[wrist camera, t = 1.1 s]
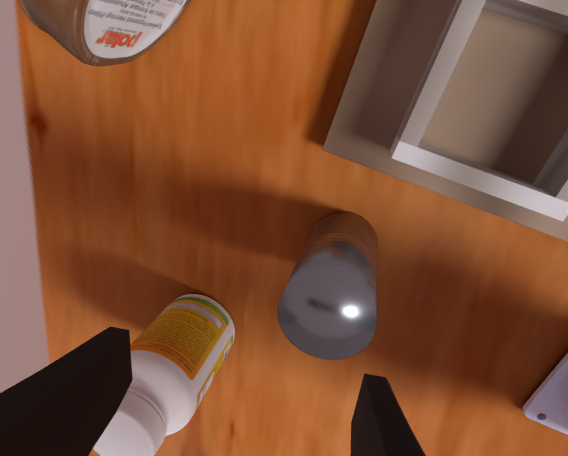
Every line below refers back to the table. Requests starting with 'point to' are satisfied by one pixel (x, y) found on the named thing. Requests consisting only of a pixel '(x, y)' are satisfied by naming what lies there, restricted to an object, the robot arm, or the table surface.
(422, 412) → the table surface
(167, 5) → the tin
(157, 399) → the supplement bottle
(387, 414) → the robot arm
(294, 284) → the grey metal cylinder
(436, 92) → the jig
